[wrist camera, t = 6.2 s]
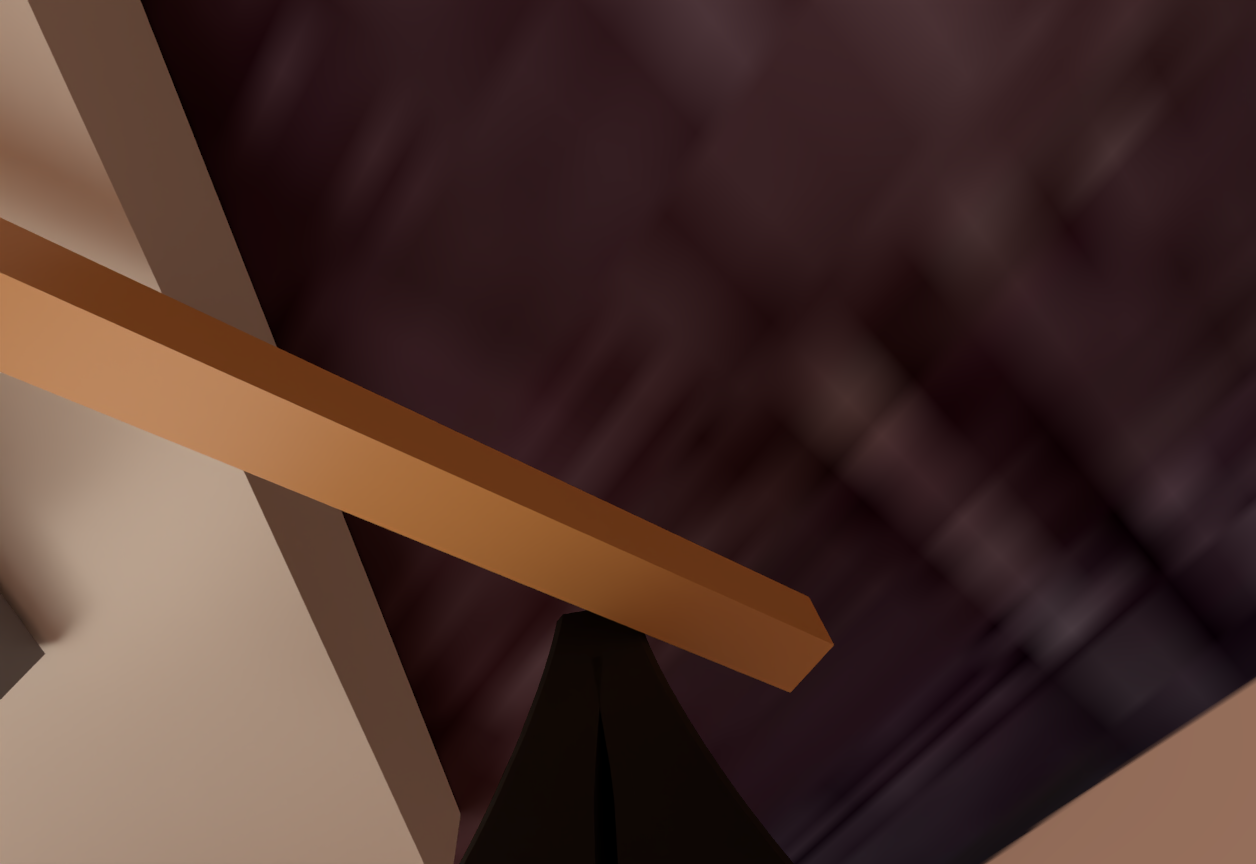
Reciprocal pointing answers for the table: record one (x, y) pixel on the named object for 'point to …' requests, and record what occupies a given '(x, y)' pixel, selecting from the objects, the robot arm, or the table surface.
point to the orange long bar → (380, 460)
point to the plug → (15, 648)
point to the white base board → (175, 538)
